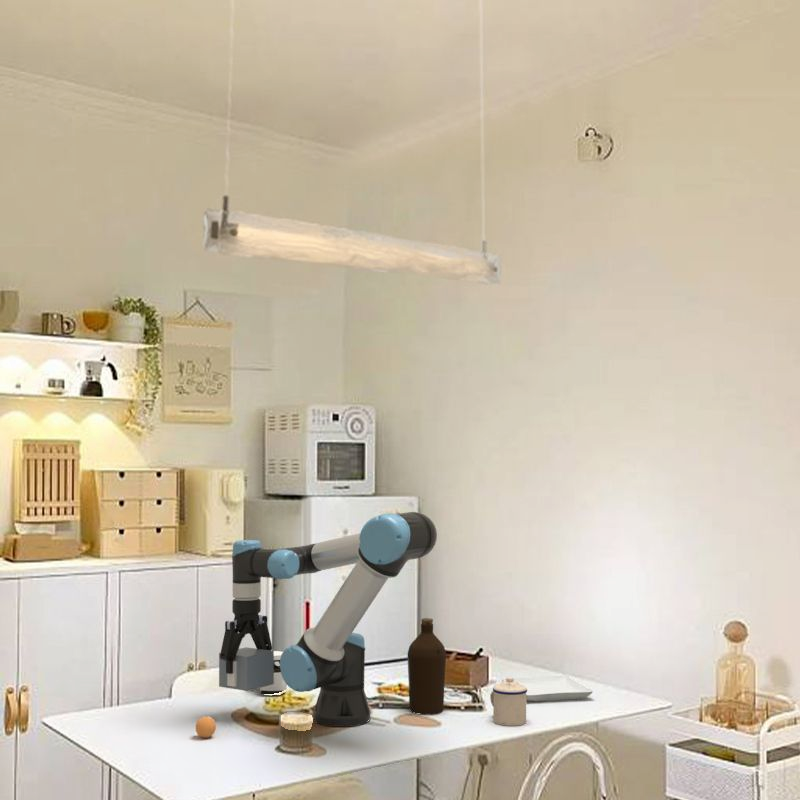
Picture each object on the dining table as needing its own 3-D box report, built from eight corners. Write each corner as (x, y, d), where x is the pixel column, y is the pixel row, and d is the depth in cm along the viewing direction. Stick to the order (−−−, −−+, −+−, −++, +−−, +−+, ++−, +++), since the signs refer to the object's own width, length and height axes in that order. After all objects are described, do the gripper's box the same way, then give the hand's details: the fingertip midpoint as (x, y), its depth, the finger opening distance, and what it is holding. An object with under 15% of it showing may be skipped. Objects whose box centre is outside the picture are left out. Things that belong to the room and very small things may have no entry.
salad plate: (525, 706, 301) (525, 693, 302) (500, 689, 322) (500, 677, 322) (594, 702, 306) (594, 690, 306) (566, 686, 327) (566, 674, 327)
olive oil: (450, 708, 296) (451, 617, 297) (438, 717, 286) (438, 623, 287) (415, 704, 300) (415, 615, 301) (401, 713, 290) (402, 620, 291)
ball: (220, 736, 265) (220, 716, 265) (205, 741, 261) (205, 720, 261) (205, 733, 268) (206, 713, 268) (191, 737, 264) (191, 717, 264)
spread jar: (284, 697, 307) (284, 656, 307) (245, 697, 307) (245, 656, 308) (289, 688, 319) (289, 648, 319) (251, 687, 319) (251, 648, 320)
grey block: (273, 684, 285) (273, 650, 286) (247, 691, 277) (247, 656, 278) (246, 679, 291) (246, 647, 292) (219, 686, 283) (219, 653, 283)
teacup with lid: (534, 723, 281) (534, 678, 281) (508, 728, 276) (508, 682, 276) (503, 713, 291) (504, 670, 291) (478, 718, 285) (478, 674, 286)
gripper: (265, 592, 297) (265, 673, 296) (205, 602, 278) (205, 688, 277) (285, 594, 292) (285, 676, 291) (226, 604, 274) (226, 691, 273)
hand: (246, 682), depth 284 cm, fingers closed on grey block, 10 cm apart
